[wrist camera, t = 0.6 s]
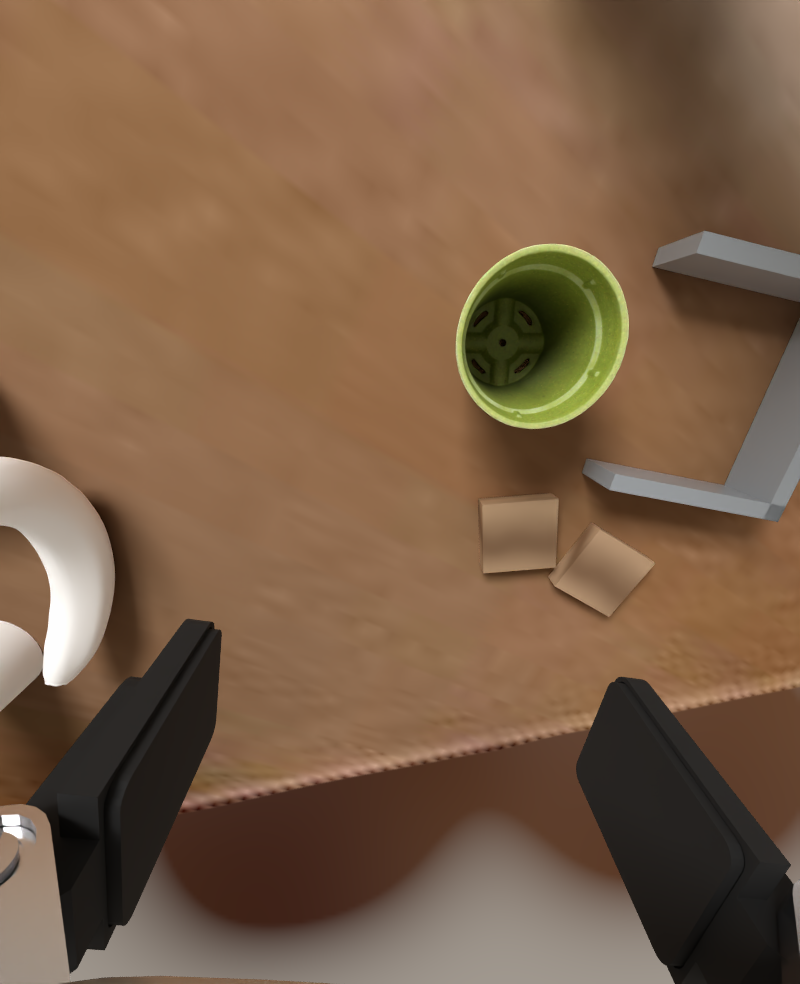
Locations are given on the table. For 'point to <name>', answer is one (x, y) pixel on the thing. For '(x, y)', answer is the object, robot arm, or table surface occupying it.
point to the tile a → (518, 532)
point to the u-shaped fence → (784, 409)
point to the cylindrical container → (17, 661)
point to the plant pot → (542, 336)
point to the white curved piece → (62, 561)
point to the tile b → (600, 570)
